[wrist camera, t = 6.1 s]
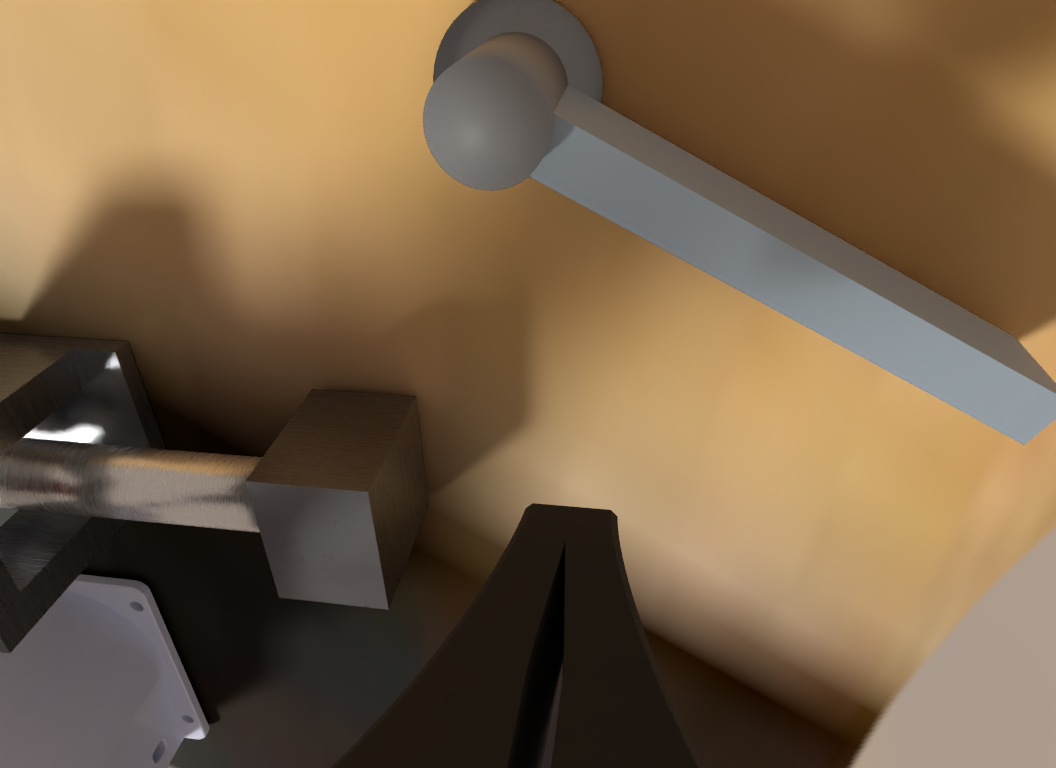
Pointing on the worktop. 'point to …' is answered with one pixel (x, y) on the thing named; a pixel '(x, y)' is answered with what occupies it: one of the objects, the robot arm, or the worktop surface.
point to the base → (529, 9)
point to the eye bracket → (65, 415)
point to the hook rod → (263, 492)
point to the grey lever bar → (721, 229)
